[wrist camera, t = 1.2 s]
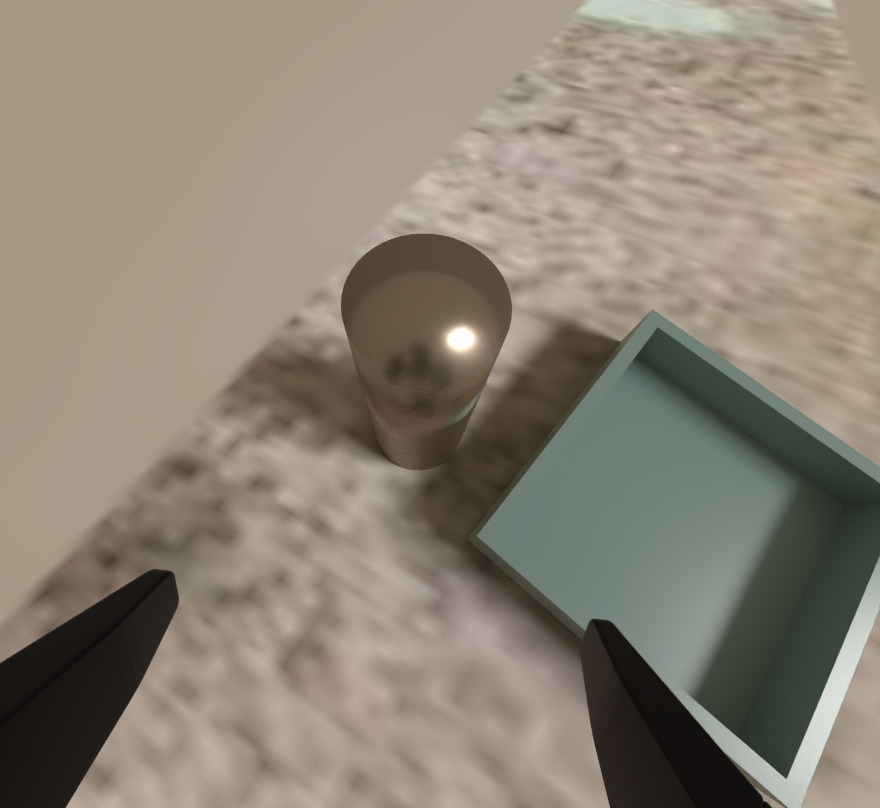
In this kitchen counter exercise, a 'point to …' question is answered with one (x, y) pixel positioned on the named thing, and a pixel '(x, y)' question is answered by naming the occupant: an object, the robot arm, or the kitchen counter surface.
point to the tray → (705, 545)
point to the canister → (424, 340)
